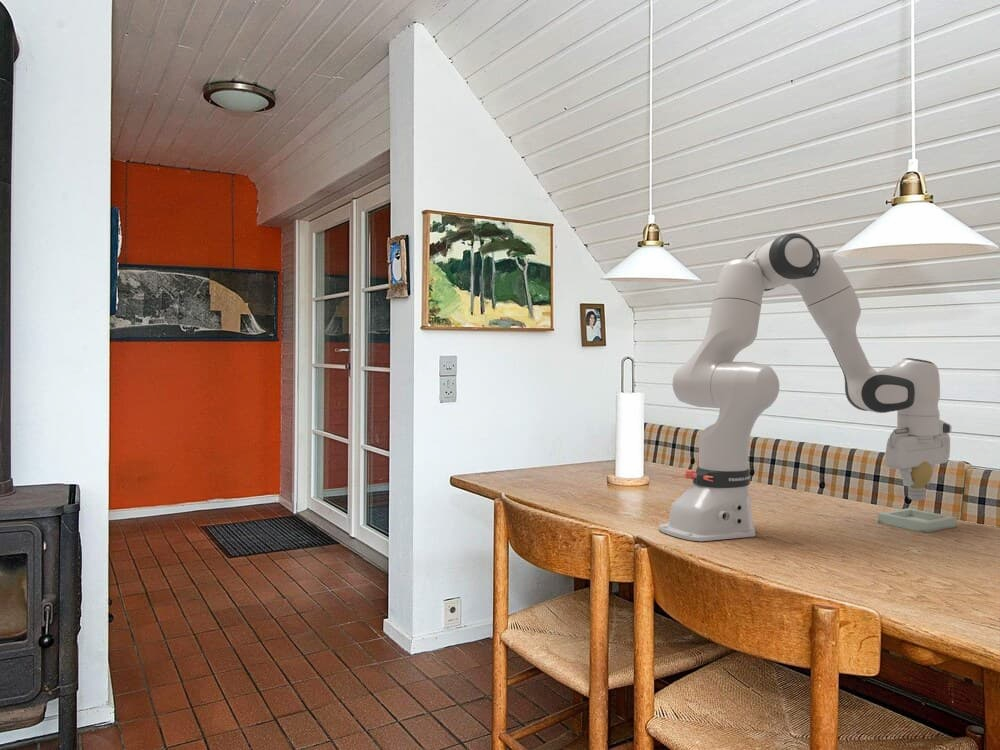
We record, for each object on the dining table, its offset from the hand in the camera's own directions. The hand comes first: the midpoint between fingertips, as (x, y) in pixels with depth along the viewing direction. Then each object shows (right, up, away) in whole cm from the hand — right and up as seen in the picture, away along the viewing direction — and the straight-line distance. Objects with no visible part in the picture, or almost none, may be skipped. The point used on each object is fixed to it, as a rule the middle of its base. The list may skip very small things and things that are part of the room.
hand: (917, 484), depth 184 cm
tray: (0, -10, 0) cm, 10 cm away
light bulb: (0, -4, 0) cm, 4 cm away
